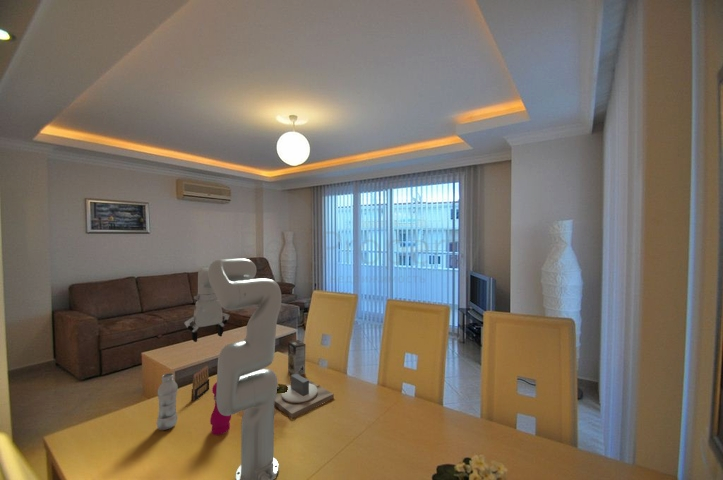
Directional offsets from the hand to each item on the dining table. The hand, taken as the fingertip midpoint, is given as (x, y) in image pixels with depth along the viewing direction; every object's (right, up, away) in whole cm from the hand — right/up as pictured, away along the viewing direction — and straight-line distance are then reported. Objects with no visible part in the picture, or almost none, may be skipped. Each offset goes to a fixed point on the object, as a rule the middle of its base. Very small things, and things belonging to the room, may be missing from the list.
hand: (207, 338), depth 123 cm
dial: (+36, -30, +12) cm, 48 cm away
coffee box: (+28, -32, +39) cm, 58 cm away
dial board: (+36, -32, +12) cm, 49 cm away
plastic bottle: (-11, -31, -9) cm, 34 cm away
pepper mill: (+10, -32, -11) cm, 35 cm away
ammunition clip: (-11, -31, +15) cm, 36 cm away
